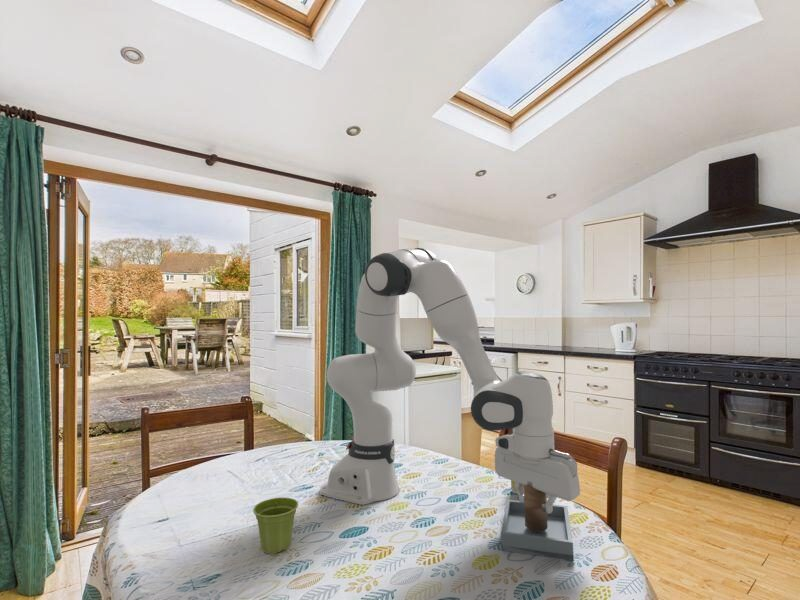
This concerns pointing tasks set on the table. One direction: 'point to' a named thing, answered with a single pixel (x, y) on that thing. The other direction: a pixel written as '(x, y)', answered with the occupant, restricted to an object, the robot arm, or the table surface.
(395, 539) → the table surface
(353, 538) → the table surface
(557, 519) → the tray
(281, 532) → the plant pot
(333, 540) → the table surface
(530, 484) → the shaker
